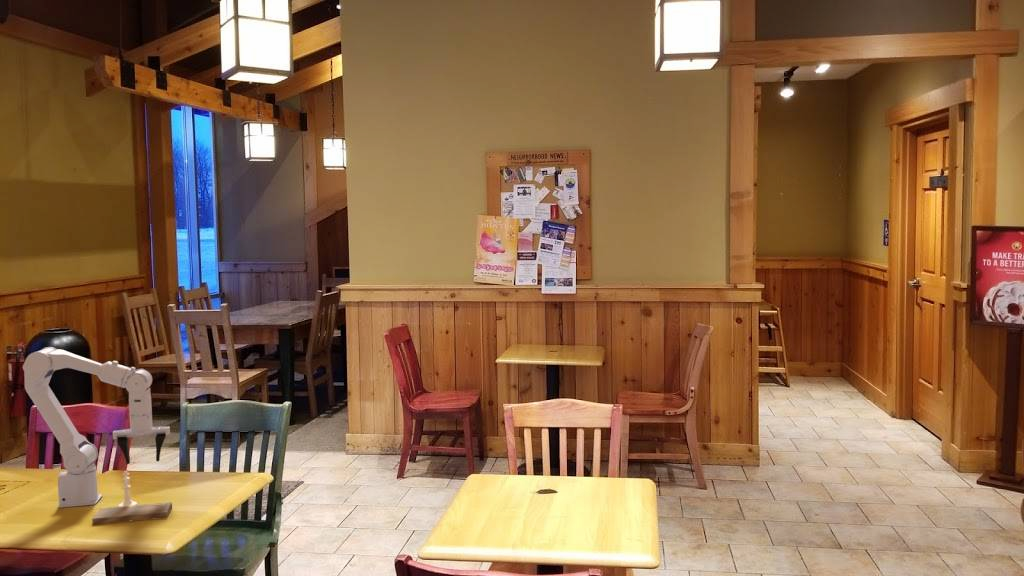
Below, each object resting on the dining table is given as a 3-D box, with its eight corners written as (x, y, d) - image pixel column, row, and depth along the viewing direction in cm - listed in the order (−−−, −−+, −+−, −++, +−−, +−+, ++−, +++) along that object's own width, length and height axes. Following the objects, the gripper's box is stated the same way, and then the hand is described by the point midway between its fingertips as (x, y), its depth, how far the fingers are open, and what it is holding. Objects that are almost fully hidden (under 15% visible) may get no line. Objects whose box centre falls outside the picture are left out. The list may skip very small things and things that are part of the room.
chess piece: (132, 510, 232) (130, 473, 232) (114, 510, 233) (112, 473, 232) (140, 503, 237) (138, 468, 236) (123, 504, 237) (120, 468, 237)
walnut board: (92, 524, 222) (92, 518, 222) (100, 513, 230) (99, 508, 230) (166, 517, 226) (166, 511, 226) (172, 507, 234) (171, 501, 233)
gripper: (110, 419, 234) (112, 468, 236) (167, 414, 239) (170, 463, 240) (113, 413, 241) (116, 461, 242) (169, 409, 246) (171, 456, 247)
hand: (143, 461), depth 242 cm, fingers open, 7 cm apart
